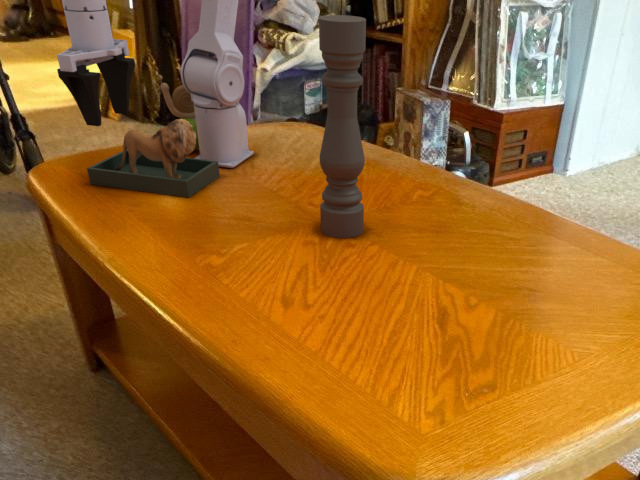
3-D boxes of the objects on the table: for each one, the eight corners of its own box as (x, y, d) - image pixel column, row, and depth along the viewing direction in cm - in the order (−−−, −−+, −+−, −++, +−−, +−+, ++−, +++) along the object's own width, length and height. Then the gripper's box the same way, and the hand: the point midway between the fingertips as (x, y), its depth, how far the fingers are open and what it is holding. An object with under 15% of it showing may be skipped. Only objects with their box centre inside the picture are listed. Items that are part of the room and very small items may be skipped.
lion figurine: (206, 177, 112) (198, 116, 106) (194, 187, 108) (186, 124, 102) (122, 169, 113) (110, 108, 107) (107, 179, 109) (94, 116, 103)
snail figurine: (167, 148, 124) (155, 72, 116) (201, 145, 126) (192, 70, 118) (173, 156, 121) (162, 78, 113) (209, 153, 123) (200, 76, 115)
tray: (127, 164, 116) (124, 149, 115) (219, 176, 113) (218, 161, 112) (90, 184, 108) (86, 168, 107) (188, 197, 105) (186, 181, 104)
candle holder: (365, 223, 100) (370, 16, 83) (360, 239, 95) (365, 23, 78) (324, 220, 100) (320, 13, 83) (317, 236, 95) (312, 20, 79)
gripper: (80, 17, 87) (105, 133, 96) (139, 5, 98) (156, 111, 107) (33, 13, 89) (61, 128, 98) (95, 1, 99) (116, 106, 108)
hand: (108, 119), depth 102 cm, fingers open, 7 cm apart
